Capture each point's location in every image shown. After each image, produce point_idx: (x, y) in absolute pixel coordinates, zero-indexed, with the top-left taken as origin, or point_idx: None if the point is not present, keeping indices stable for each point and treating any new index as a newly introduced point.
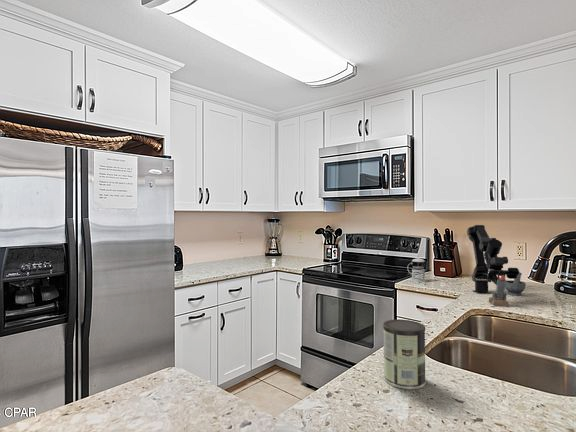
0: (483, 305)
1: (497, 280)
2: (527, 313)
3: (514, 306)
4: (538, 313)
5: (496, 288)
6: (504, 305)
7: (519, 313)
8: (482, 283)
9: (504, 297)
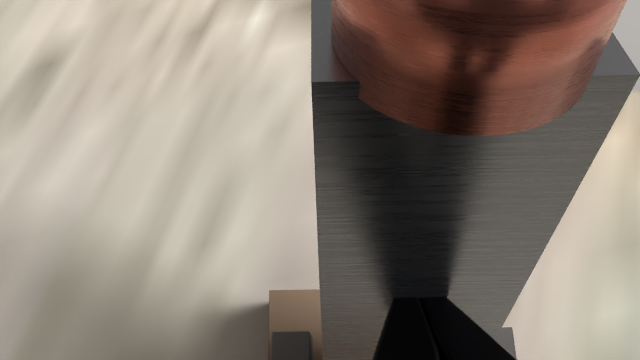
0: (599, 303)
1: (593, 146)
2: (182, 27)
3: (180, 353)
4: (61, 54)
5: (497, 319)
6: None
7: (266, 8)
8: None
9: (310, 334)
